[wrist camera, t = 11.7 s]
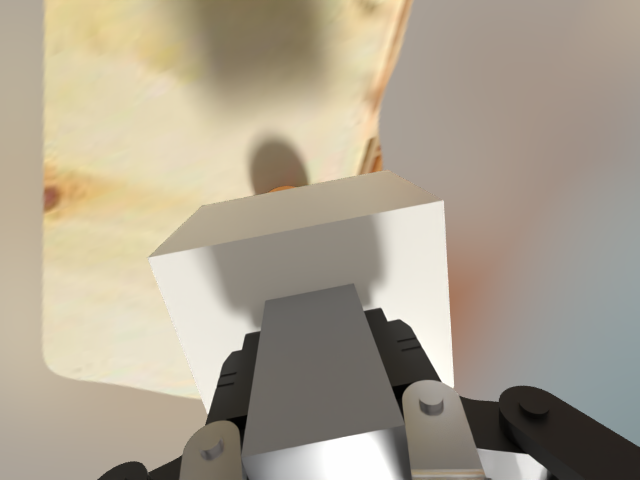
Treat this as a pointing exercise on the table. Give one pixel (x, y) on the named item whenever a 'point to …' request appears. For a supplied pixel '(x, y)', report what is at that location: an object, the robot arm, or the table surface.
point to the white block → (312, 316)
